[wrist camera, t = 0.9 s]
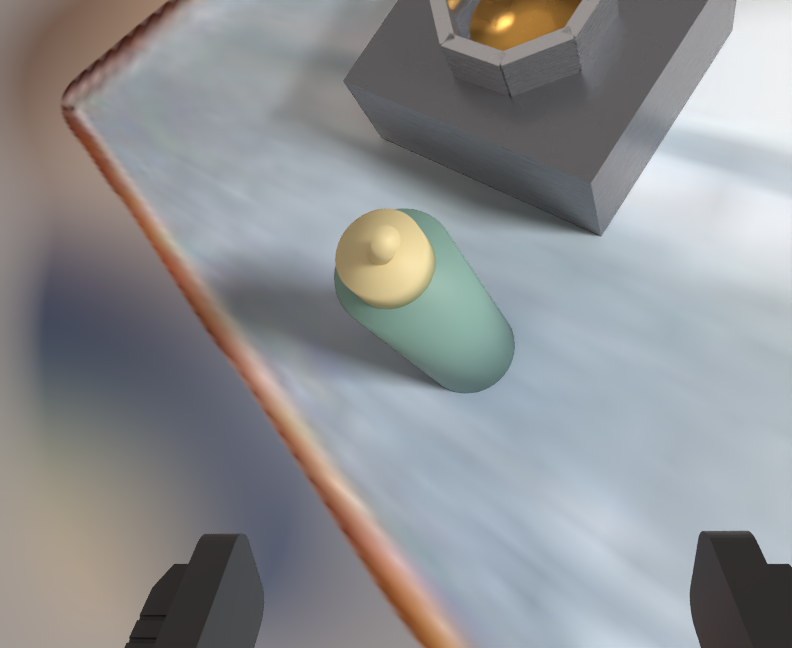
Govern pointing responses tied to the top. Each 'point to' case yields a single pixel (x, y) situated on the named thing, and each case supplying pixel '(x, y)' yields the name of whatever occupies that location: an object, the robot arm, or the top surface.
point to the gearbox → (539, 90)
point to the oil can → (422, 298)
